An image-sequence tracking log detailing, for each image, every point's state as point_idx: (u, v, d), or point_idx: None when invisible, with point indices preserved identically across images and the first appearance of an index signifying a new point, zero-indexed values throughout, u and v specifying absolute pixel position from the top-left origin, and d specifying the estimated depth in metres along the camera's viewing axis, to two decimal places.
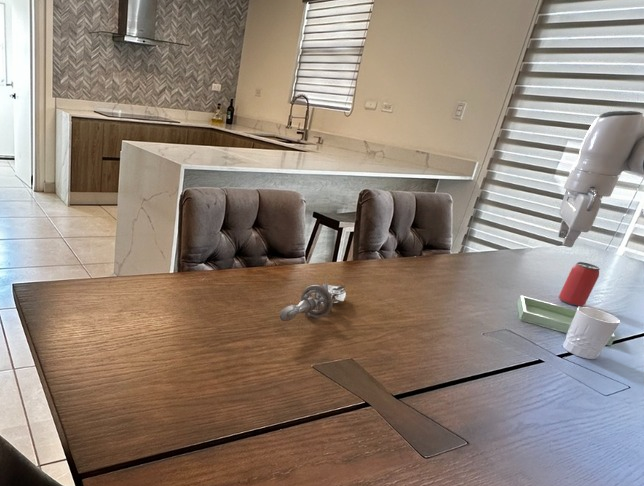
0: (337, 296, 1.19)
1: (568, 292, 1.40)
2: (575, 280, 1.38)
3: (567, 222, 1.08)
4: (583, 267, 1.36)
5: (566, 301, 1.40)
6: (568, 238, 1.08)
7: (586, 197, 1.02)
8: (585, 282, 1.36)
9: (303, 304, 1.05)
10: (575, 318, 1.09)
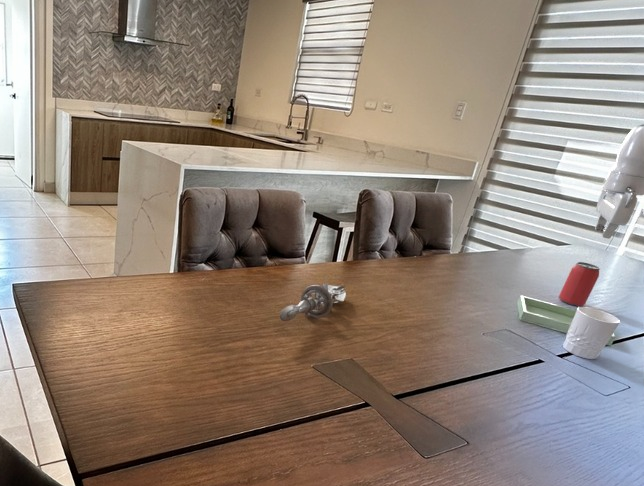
0: (337, 296, 1.19)
1: (568, 292, 1.40)
2: (575, 280, 1.38)
3: (606, 217, 1.27)
4: (583, 267, 1.36)
5: (566, 301, 1.40)
6: (607, 231, 1.27)
7: (624, 196, 1.21)
8: (585, 282, 1.36)
9: (303, 304, 1.05)
10: (575, 318, 1.09)
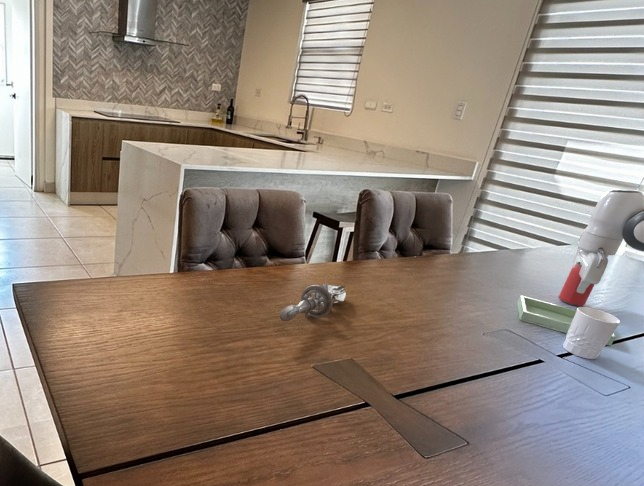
0: (337, 296, 1.19)
1: (568, 292, 1.39)
2: (575, 280, 1.38)
3: (580, 274, 1.35)
4: None
5: (566, 301, 1.40)
6: (580, 286, 1.36)
7: (596, 257, 1.29)
8: None
9: (303, 304, 1.05)
10: (575, 318, 1.09)
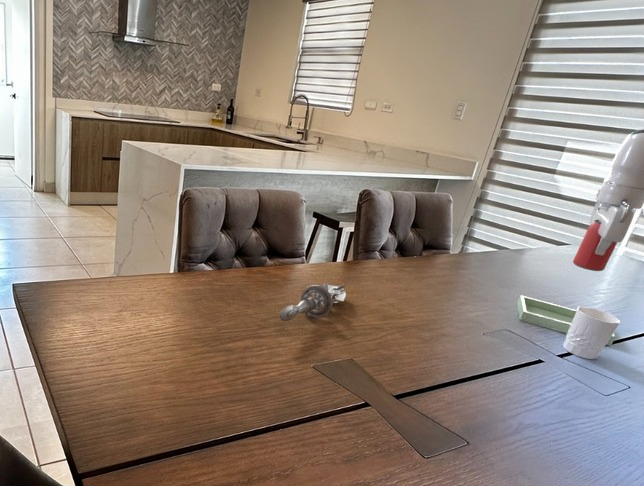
0: (337, 296, 1.19)
1: (584, 255, 1.19)
2: (593, 240, 1.17)
3: (600, 232, 1.15)
4: None
5: (582, 265, 1.20)
6: (600, 247, 1.15)
7: (619, 209, 1.09)
8: None
9: (303, 304, 1.05)
10: (575, 318, 1.09)
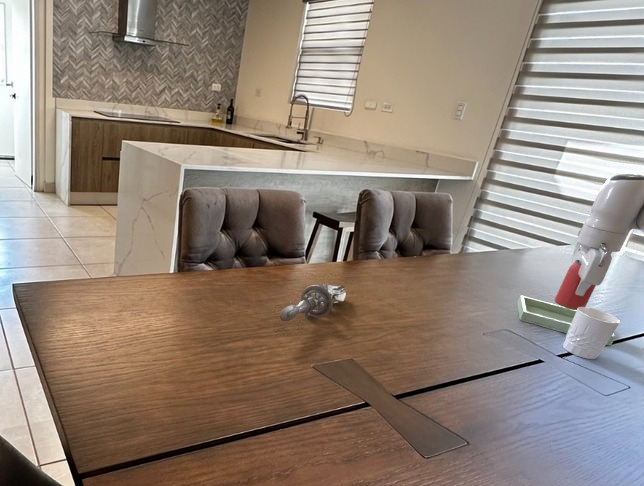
0: (337, 296, 1.19)
1: (565, 294, 1.22)
2: (573, 280, 1.20)
3: (579, 274, 1.17)
4: None
5: (563, 304, 1.22)
6: (580, 288, 1.18)
7: (598, 253, 1.11)
8: None
9: (303, 304, 1.05)
10: (575, 318, 1.09)
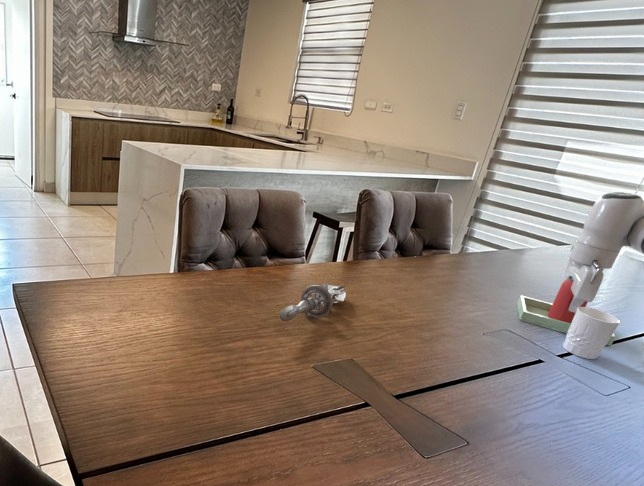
0: (337, 296, 1.19)
1: (558, 310, 1.24)
2: (566, 297, 1.22)
3: (572, 290, 1.19)
4: None
5: None
6: (573, 304, 1.19)
7: (590, 271, 1.13)
8: None
9: (303, 304, 1.05)
10: (575, 318, 1.09)
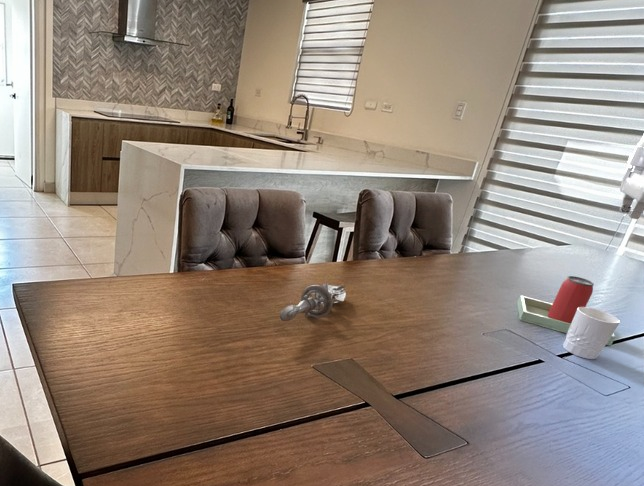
0: (337, 296, 1.19)
1: (558, 310, 1.24)
2: (566, 297, 1.22)
3: (634, 195, 1.17)
4: (575, 282, 1.20)
5: None
6: (635, 210, 1.17)
7: None
8: (577, 300, 1.20)
9: (303, 304, 1.05)
10: (575, 318, 1.09)
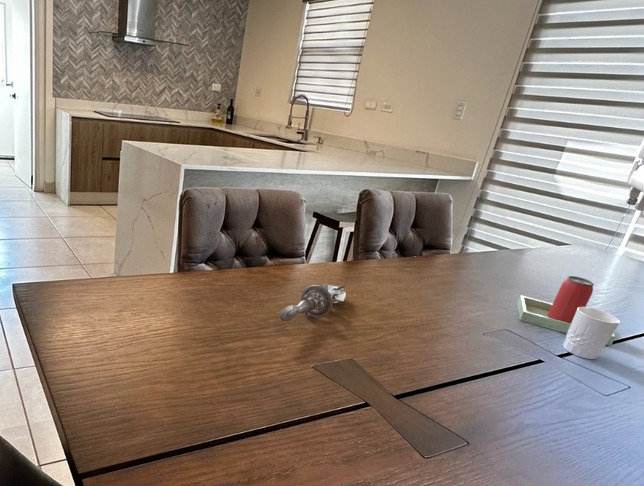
0: (337, 296, 1.19)
1: (558, 310, 1.24)
2: (566, 297, 1.22)
3: (641, 188, 1.18)
4: (575, 282, 1.20)
5: None
6: (641, 202, 1.18)
7: None
8: (577, 300, 1.20)
9: (303, 304, 1.05)
10: (575, 318, 1.09)
